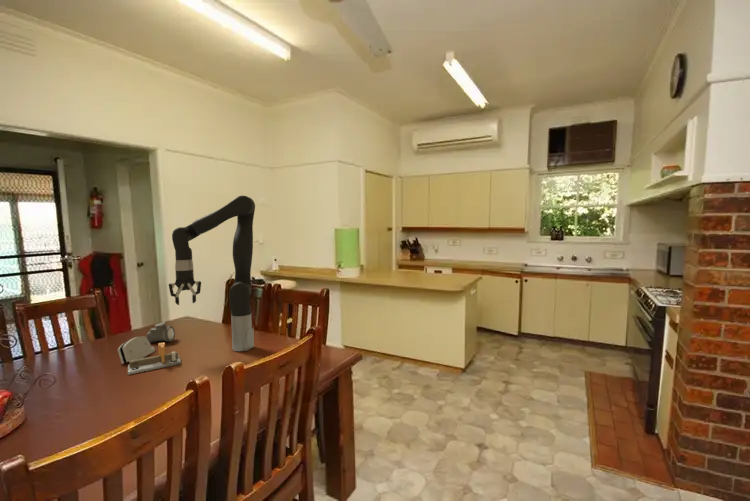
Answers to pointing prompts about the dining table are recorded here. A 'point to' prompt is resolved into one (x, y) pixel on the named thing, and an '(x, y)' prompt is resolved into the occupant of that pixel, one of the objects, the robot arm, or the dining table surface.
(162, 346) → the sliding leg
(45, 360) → the dining table surface
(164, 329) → the pipe fitting
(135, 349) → the hinge
